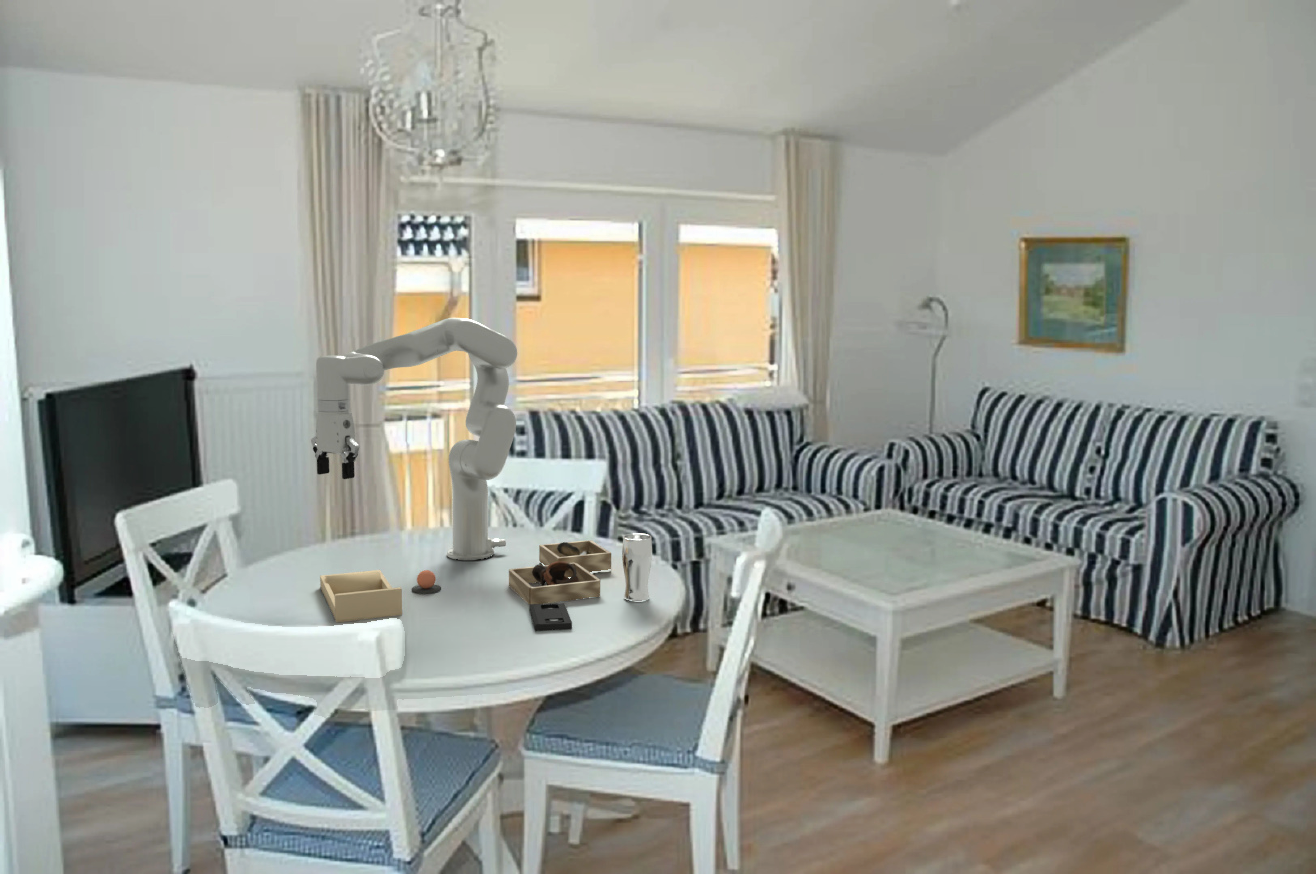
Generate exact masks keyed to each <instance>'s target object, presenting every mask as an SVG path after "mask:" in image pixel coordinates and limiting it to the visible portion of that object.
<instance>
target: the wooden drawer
mask: <svg viewBox="0 0 1316 874" xmlns="http://www.w3.org/2000/svg"><path fill="white" fill-rule="evenodd" d="M319 578H320V579H319V582H320V584H319V585H320V589H321V592H322V594H324V595H323V597H324V599H325V601H326V603H327V605H328V608H329V610H330V612H331V614H332V617H333V619H334V621H335V623H336V624H337V623H343V622H353V621H363V620H371V619H378V618H379V619H380V618H387V617H396V616H402V615H403V595H402V594H403V593H402V592H403V591H402V587H400V586H399V587H392V585H391V583H390V582H389V581H388V579H387V578H386V576H385V575H384V574H383V572H382V571H381V570H380V569H375V570H374V569H373V570H367V571H366V570H365V571H354V572H345V573H334V574H324V575H323V574H322V575H319Z"/></svg>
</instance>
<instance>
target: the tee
mask: <svg viewBox="0 0 1316 874" xmlns="http://www.w3.org/2000/svg"><path fill="white" fill-rule="evenodd" d="M441 591H442V586H441V585H438V584H436V583H435V584H434V585H433V586H432V587H431V588H428V589H424V588H421V587H420V586H419V585H415V586H413V587H412V586H411V593H412V594H413V593H414V594H418V595H433V594H436V593H439V592H441Z"/></svg>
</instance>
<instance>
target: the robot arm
mask: <svg viewBox="0 0 1316 874" xmlns="http://www.w3.org/2000/svg"><path fill="white" fill-rule="evenodd" d="M455 351H457V352H464V353H467V354H468V357H469V359H470V361H471V362H472V364H473V366H474V368H475V371H476V375H477V379H476V380H477V382H476V386H475V390H474V393H473V396H472V399H471V401H470V405H469V409H468V411H467V413H466V417H465V427H466V429H467V431H468V432H469V433H471V434H472V435H474V436H477V437H478V440H475V439H462V440H459V441H458V442H456V443H454V445H453V446H452V447H451V448H450V451H449V455H448V468H449V471H450V477H451V489H452V490H451V494H452V495H451V497H452V499H451V500H452V501H451V502H452V504H451V505H452V507H451V509H452V510H451V511H452V513H451V514H452V515H451V516H452V548H449V549H448V550H447V551H446V556H447V557H448V558H449V559H453V560H456V559H458V560H457V561H474V560H473V559H481V560H485V559H484V558H486V559H488V558H487V557H489V558H491V557H492V556H491V555H493V554H494V555H495V550H494V549H495V548H496V547H497V548H500V547H501V548H502V547H506V543H507V542H506V539H505V538H504V539H499V538H494V539H493V538H491V537H489V489H488V488H489V486H488V481H490V480H493V479H495V478H497V477H498V476H499V475H500V474H501V472H502V471H503V469H504V467H505V464H506V461H507V459H508V456H509V453H510V450H511V447H512V443H513V440H514V437H515V434H516V430H517V419H516V416H515V414H514V412H513V410H512V409H511V408H510V407H509V406H506V405H505V403H506V401H507V400H506V399H507V396H508V392H509V385H510V382H509V381H510V380H509V374H508V370H507V368H509V367H511V366H513V364H514V363H515V362H516V360H517V357H518V348H517V346H516V344H515V342H514V340H512V339H511V338H509V337H508V336H506V335H504V334H502V333H499V332H497V331H496V330H494V329H492V328H489V327H488V326H485V325H484V324H481V323H480V322H477V321H475V320H473V319H471V318H470V319H469V318H463V317H449V318H445V319H442V320H440V321H439V320H438V321H436V322H434V323H431V324H429V325H426V326H424V327H420V328H418V329H416V330H413V331H410V332H408V333H405V334H400V335H398V336H394V337H391V338H389V339H388V338H387V339H385V340H381V341H377V342H374V343H371V344H368V345H365V346H362V347H360V348H357V349H355V350H352V351H350V352H347V353H346V354H344V355H322V356H319V357H317V359H316V360H315V361H316V362H315V373H316V405H317V406H316V407H317V413H316V420H315V422H316V423H315V436H313V437H312V438H311V439H310V442H311V445H312V450H313V452H314V457H315V459H316V473H317V475H325V474H329V473H330V457H329V456H328V455H329V454H333V455H334V454H335V455H340V457H341V459H342V461H343V462H341V479H343V480H349V479H354V478H355V474H356V473H355V462H356V461H357V458H358V455H359V450H360V449H361V448H360V447H361V446H360V445H359V444H358V443H357V440H356V430H355V429H356V428H355V423H354V422H355V421H354V418H353V414H352V412H351V402H350V401H351V399H350V398H351V396H350V395H351V394H350V385H357V386H358V385H359V386H372V385H374V384H375V385H376V384H377V383H378V382H380V381H381V380H382V378H383V376H384V375H385V371H387V370H392V369H397V368H398V369H399V368H410V367H415V366H420V365H423V364H425V363H428V362H430V361H432V360H435V359H437V358H440V357H442V356H445V355H447V354H450V353H452V352H455ZM494 555H493V556H494ZM490 556H491V557H490Z"/></svg>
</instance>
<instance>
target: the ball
mask: <svg viewBox="0 0 1316 874" xmlns="http://www.w3.org/2000/svg"><path fill="white" fill-rule="evenodd" d="M436 578H437V577H436V574H435V573H434V572H433V571H431V570H428V569H425V570H422V571H420V572H419V573H418V575H417V577H416V583H417V584H418V585H419V586H420V587H421V588H424V589H428V588H431V587H432V586H433V585H434V584H435V585H436V580H437V579H436Z"/></svg>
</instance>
